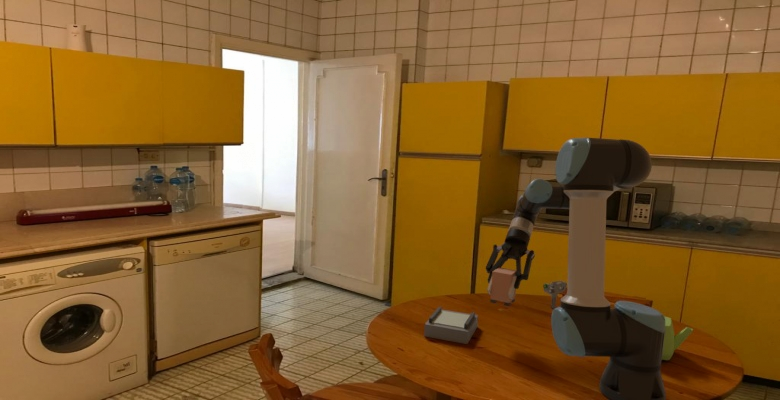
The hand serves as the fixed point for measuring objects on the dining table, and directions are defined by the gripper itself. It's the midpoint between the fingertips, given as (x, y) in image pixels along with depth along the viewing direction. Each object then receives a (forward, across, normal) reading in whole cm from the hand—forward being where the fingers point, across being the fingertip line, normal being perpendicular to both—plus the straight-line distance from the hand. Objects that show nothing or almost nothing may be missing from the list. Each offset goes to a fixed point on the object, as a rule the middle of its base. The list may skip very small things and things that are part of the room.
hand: (499, 294), depth 156 cm
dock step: (+11, +15, -11) cm, 22 cm away
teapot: (-3, -43, -26) cm, 50 cm away
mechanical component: (-21, -7, -44) cm, 49 cm away
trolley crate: (0, 0, -5) cm, 5 cm away
